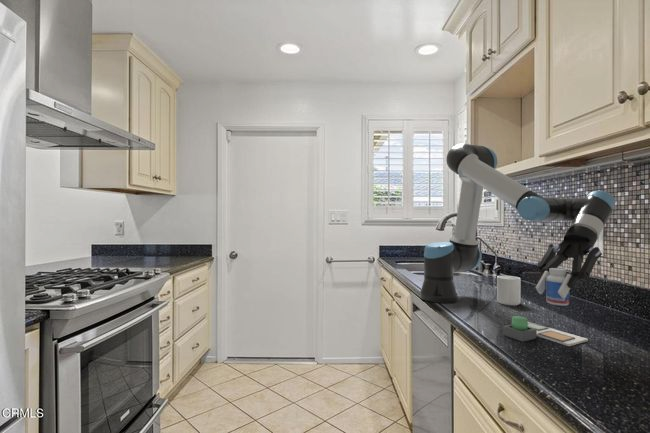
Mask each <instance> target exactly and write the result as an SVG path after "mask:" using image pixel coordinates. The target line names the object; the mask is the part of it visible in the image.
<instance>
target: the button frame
mask: <svg viewBox="0 0 650 433" xmlns="http://www.w3.org/2000/svg"><path fill="white" fill-rule="evenodd" d="M502 328H503V329H502V330H503V331H502V334H503V335H502V336H506V337H508V338H511V339H514V340H517V341H519V342H529V341H532V340H535V339H537V336H536V335H537V329H534V328H531V327H528V330H525V331H520V330H517V329H514V328H512V323H511V324H507V325H503V327H502Z"/></svg>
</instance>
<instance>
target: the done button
mask: <svg viewBox="0 0 650 433" xmlns="http://www.w3.org/2000/svg"><path fill="white" fill-rule="evenodd" d="M528 319H529V318H527V317H525V316H521V315H512V316H511V324H512V328H514V329H517V330H520V331H525V330H528V322H529V320H528Z"/></svg>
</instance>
